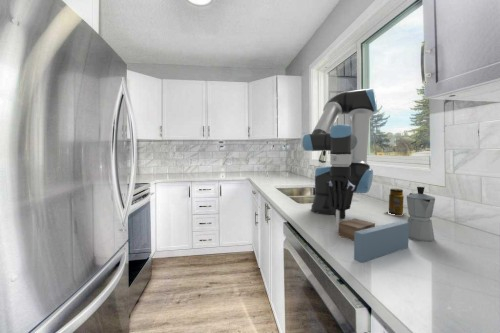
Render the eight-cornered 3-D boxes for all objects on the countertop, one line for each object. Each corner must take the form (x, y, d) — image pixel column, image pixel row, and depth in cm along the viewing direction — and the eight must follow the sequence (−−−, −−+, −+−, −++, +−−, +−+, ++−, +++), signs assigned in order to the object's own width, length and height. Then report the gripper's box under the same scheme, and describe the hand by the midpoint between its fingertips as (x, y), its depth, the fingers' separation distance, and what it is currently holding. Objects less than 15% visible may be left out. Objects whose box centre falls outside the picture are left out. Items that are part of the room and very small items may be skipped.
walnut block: (354, 231, 95) (354, 218, 95) (374, 236, 89) (375, 223, 88) (338, 236, 89) (338, 222, 89) (358, 242, 83) (359, 228, 83)
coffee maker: (443, 244, 80) (445, 189, 79) (413, 243, 82) (415, 189, 80) (421, 230, 94) (422, 183, 93) (396, 229, 96) (397, 183, 95)
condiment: (405, 213, 120) (406, 189, 119) (400, 216, 114) (401, 191, 113) (389, 211, 125) (389, 187, 124) (383, 214, 119) (384, 189, 118)
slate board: (400, 244, 80) (400, 220, 80) (408, 247, 78) (408, 222, 77) (354, 259, 70) (354, 231, 69) (361, 262, 68) (362, 234, 67)
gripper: (320, 165, 98) (320, 223, 99) (347, 166, 87) (346, 232, 88) (334, 164, 102) (334, 221, 103) (361, 166, 90) (360, 229, 91)
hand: (339, 226), depth 95 cm, fingers closed
